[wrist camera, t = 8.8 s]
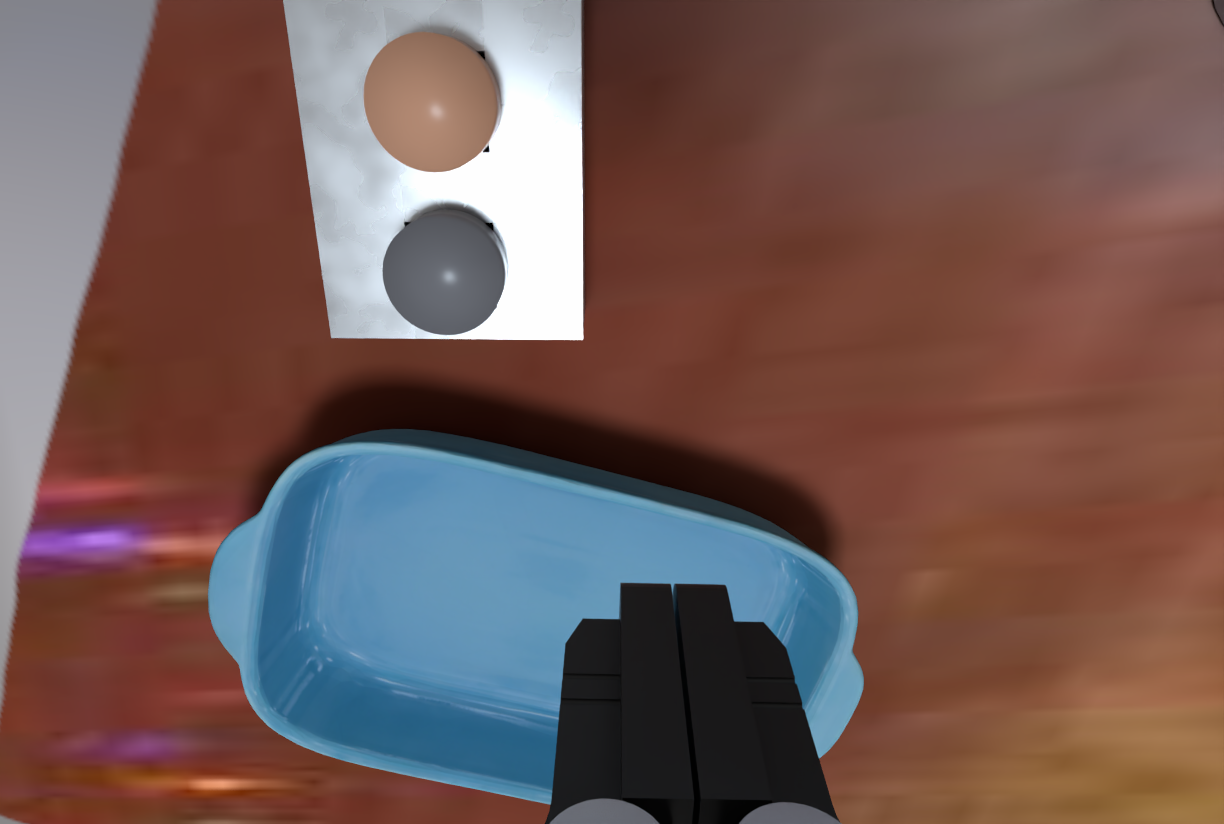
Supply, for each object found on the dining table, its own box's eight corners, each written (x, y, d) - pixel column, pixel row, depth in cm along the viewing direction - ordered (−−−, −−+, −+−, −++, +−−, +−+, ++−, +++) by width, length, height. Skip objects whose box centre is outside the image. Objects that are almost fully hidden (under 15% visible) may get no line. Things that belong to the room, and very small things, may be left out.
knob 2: (516, 194, 39) (499, 217, 32) (520, 296, 41) (505, 335, 35) (412, 193, 38) (375, 216, 32) (421, 295, 41) (389, 334, 34)
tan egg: (510, 39, 36) (491, 32, 30) (515, 156, 38) (498, 173, 32) (398, 37, 36) (355, 30, 30) (409, 155, 38) (371, 171, 32)
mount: (583, -165, 33) (580, -202, 28) (585, 310, 42) (582, 339, 37) (302, -169, 33) (253, -208, 28) (361, 308, 41) (331, 337, 37)
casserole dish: (892, 509, 47) (939, 580, 41) (760, 765, 56) (781, 857, 49) (284, 347, 43) (226, 397, 36) (242, 653, 51) (189, 738, 45)
